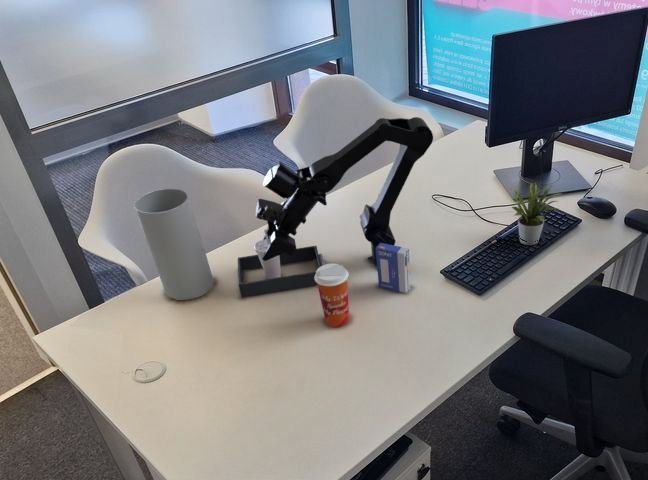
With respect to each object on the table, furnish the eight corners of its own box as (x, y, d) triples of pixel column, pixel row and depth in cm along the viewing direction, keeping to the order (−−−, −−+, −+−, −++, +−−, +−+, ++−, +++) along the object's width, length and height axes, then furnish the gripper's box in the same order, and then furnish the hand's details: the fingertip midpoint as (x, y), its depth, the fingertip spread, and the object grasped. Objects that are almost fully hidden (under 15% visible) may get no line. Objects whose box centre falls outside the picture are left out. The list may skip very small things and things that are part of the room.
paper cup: (324, 333, 145) (316, 284, 135) (319, 314, 150) (311, 265, 141) (357, 326, 146) (351, 277, 137) (350, 307, 152) (344, 259, 142)
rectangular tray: (322, 257, 170) (320, 244, 167) (328, 283, 160) (326, 271, 157) (240, 270, 167) (237, 257, 164) (242, 298, 157) (238, 285, 154)
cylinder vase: (222, 277, 164) (198, 190, 148) (199, 304, 155) (170, 215, 139) (181, 271, 167) (153, 186, 151) (156, 298, 158) (123, 210, 142)
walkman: (378, 287, 158) (375, 247, 150) (383, 281, 160) (380, 241, 152) (406, 293, 155) (404, 253, 147) (411, 287, 157) (409, 247, 149)
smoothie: (284, 283, 160) (273, 236, 151) (259, 284, 160) (247, 237, 151) (288, 269, 165) (277, 223, 156) (264, 270, 165) (252, 224, 156)
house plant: (569, 248, 168) (577, 193, 157) (524, 260, 164) (530, 204, 153) (541, 224, 178) (547, 171, 167) (498, 235, 174) (502, 181, 164)
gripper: (268, 173, 154) (234, 219, 160) (273, 207, 140) (235, 257, 146) (304, 196, 160) (270, 240, 166) (312, 232, 146) (275, 278, 152)
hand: (262, 253), depth 157 cm, fingers closed on smoothie, 6 cm apart
